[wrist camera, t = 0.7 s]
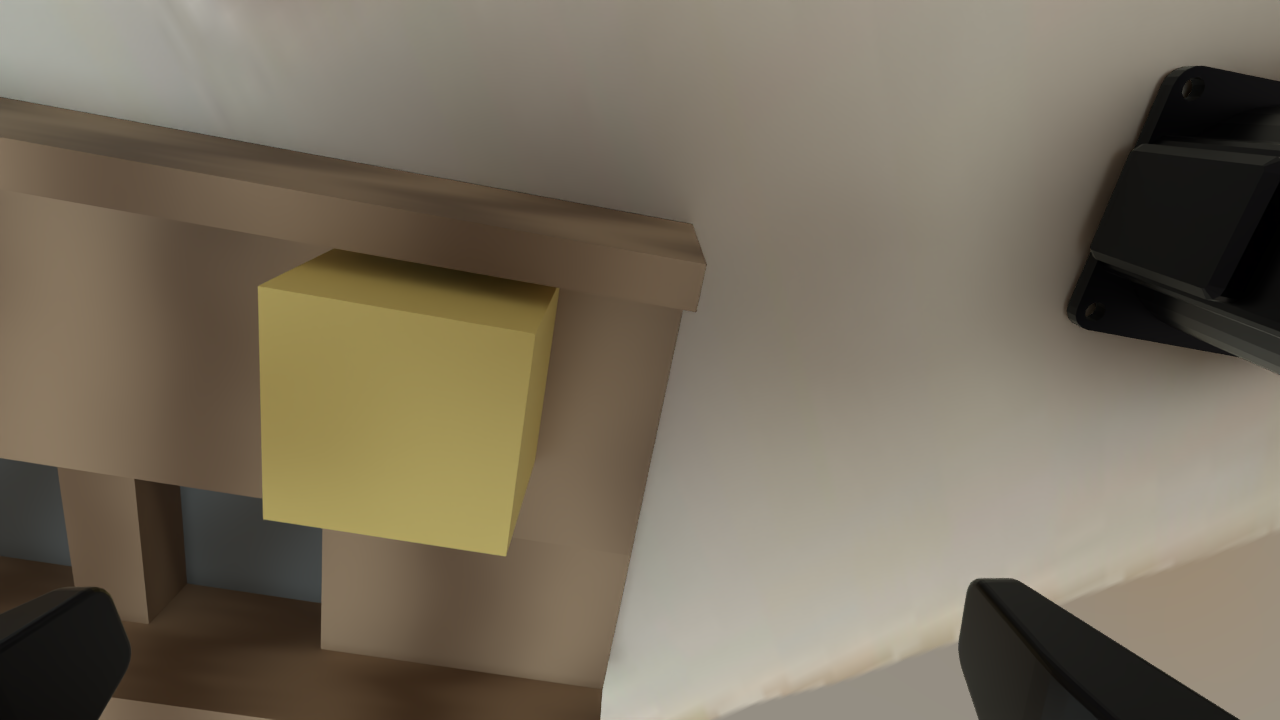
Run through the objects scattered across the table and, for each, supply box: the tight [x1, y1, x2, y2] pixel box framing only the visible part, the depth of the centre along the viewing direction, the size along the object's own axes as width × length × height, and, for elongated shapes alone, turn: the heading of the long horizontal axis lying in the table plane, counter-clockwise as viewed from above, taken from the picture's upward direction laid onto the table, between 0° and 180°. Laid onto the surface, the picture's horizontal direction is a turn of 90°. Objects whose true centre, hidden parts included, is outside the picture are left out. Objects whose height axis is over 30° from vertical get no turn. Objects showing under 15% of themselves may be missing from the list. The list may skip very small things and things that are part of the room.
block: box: [258, 248, 560, 556], centre depth 15 cm, size 5×5×4 cm
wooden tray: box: [0, 97, 707, 720], centre depth 18 cm, size 23×15×5 cm, turn 80°
